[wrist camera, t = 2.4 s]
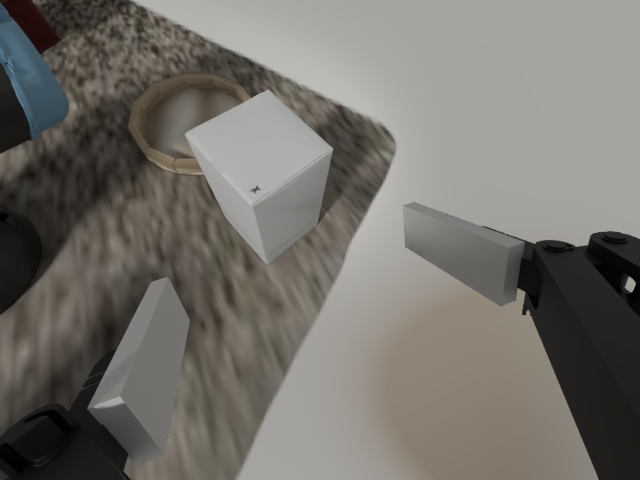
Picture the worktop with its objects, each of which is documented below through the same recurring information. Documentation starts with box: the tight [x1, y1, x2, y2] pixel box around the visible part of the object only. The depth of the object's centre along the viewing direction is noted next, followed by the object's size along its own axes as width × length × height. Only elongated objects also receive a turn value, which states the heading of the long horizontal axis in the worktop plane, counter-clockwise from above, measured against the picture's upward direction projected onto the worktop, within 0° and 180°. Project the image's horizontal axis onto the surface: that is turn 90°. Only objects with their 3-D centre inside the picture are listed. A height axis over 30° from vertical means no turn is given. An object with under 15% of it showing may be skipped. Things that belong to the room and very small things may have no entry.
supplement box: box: [185, 90, 333, 265], centre depth 29 cm, size 9×9×15 cm
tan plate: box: [128, 73, 251, 176], centre depth 39 cm, size 17×17×2 cm
